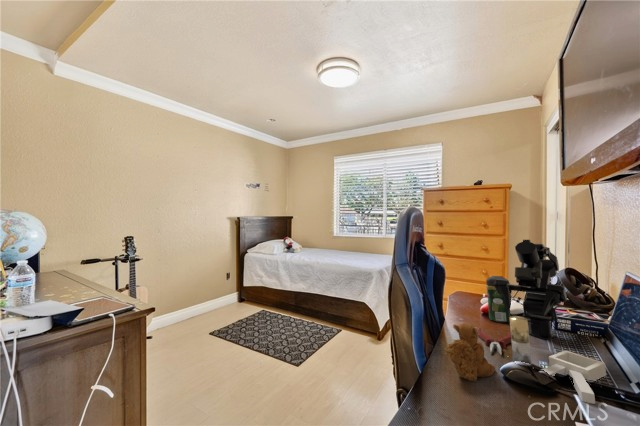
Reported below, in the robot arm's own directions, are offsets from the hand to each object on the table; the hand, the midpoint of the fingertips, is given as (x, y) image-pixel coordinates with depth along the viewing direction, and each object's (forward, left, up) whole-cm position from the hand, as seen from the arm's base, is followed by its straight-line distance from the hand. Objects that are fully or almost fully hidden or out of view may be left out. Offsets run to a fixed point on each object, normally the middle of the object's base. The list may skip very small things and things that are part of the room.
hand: (525, 311), depth 87 cm
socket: (+6, +15, -13) cm, 21 cm away
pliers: (+2, -11, -14) cm, 18 cm away
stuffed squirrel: (+26, 0, -13) cm, 29 cm away
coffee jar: (-23, -25, -13) cm, 36 cm away
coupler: (+8, +2, -13) cm, 15 cm away
